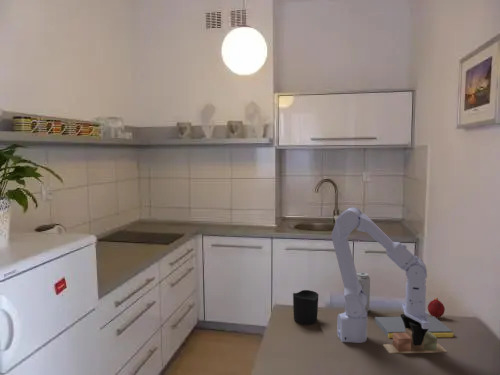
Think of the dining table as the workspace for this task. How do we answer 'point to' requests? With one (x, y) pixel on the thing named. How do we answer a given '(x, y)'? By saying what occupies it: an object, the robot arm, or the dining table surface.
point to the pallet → (393, 350)
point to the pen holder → (305, 307)
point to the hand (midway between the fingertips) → (414, 341)
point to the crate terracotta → (402, 341)
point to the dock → (397, 326)
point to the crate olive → (430, 342)
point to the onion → (436, 308)
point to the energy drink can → (365, 286)
